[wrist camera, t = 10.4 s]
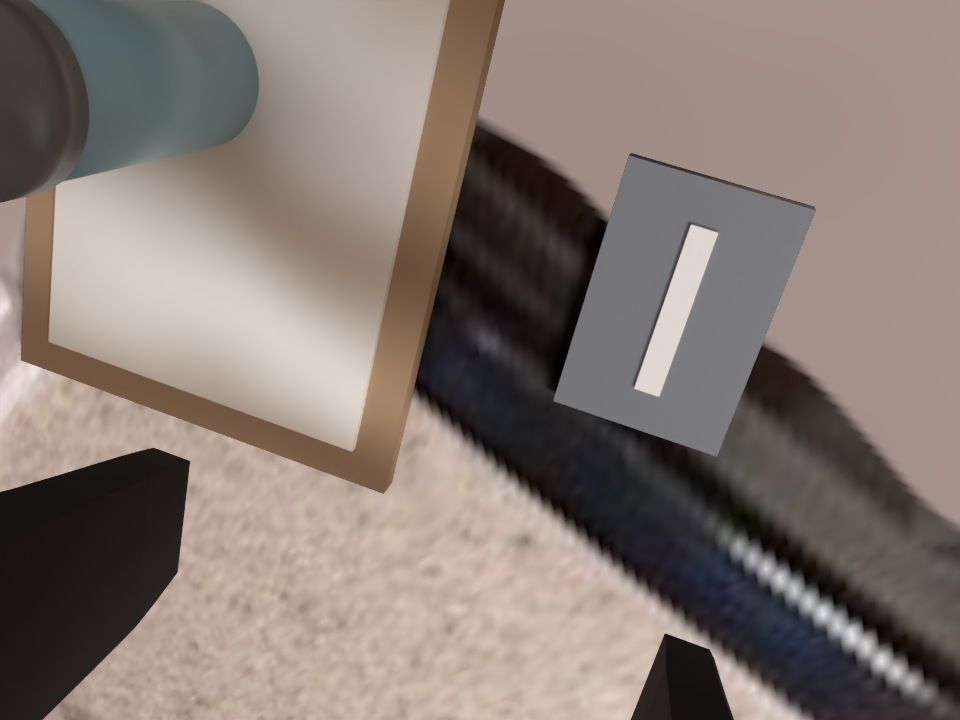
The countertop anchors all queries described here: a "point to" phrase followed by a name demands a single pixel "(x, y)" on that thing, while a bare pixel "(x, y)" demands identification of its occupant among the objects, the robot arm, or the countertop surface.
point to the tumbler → (115, 86)
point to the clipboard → (278, 238)
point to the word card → (680, 302)
